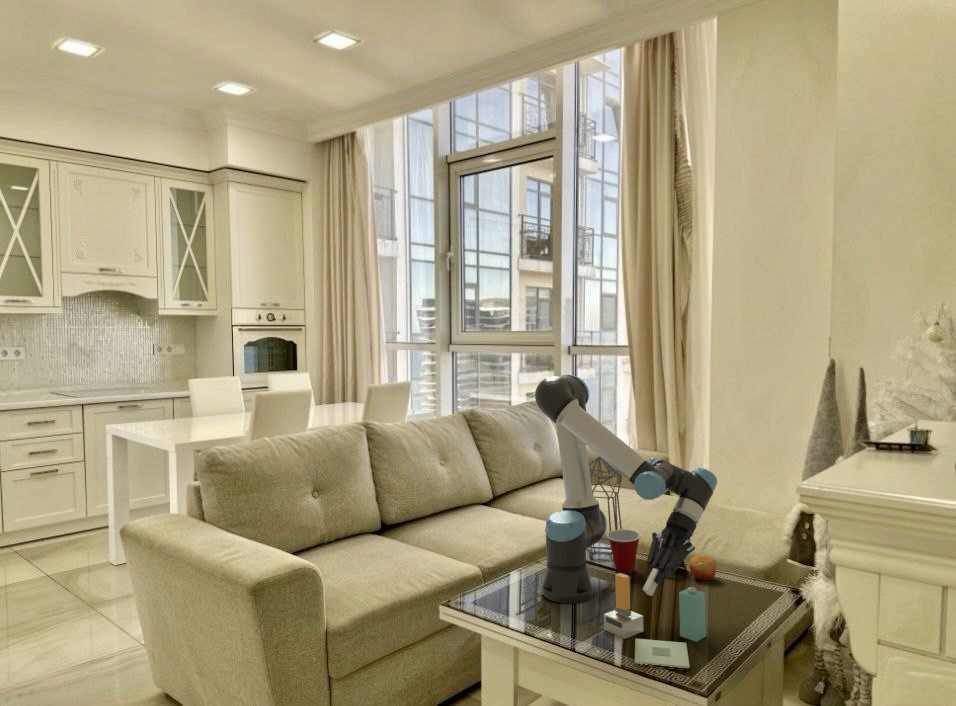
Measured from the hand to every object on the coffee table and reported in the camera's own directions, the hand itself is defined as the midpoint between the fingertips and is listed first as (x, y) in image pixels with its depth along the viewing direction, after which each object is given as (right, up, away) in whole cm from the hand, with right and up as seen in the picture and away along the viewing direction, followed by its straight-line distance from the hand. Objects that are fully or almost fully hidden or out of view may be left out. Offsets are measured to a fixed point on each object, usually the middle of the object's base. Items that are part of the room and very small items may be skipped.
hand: (647, 592), depth 171 cm
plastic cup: (+3, -8, +40) cm, 41 cm away
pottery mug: (+18, -8, +39) cm, 44 cm away
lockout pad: (-2, -8, -18) cm, 20 cm away
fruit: (+26, -7, +31) cm, 41 cm away
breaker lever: (-7, -3, -5) cm, 9 cm away
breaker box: (-7, -8, -5) cm, 12 cm away
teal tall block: (+9, -8, -9) cm, 15 cm away
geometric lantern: (-1, -8, +56) cm, 56 cm away
